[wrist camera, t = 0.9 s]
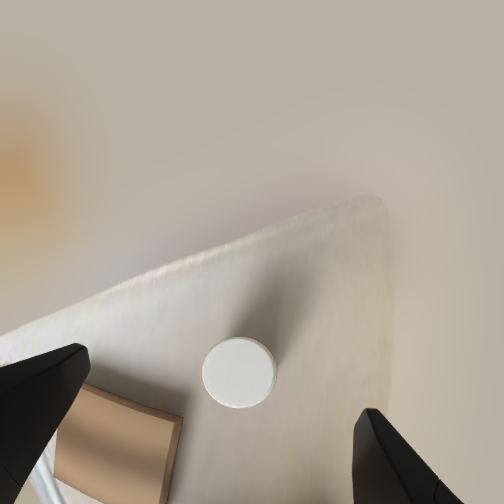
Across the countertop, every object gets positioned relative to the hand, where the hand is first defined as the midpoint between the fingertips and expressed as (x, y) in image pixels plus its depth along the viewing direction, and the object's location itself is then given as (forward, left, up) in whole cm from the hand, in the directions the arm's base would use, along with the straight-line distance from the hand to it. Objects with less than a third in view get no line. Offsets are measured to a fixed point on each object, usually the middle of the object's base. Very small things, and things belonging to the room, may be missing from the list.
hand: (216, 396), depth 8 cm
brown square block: (-9, +9, -16) cm, 21 cm away
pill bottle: (+1, 0, -16) cm, 16 cm away
